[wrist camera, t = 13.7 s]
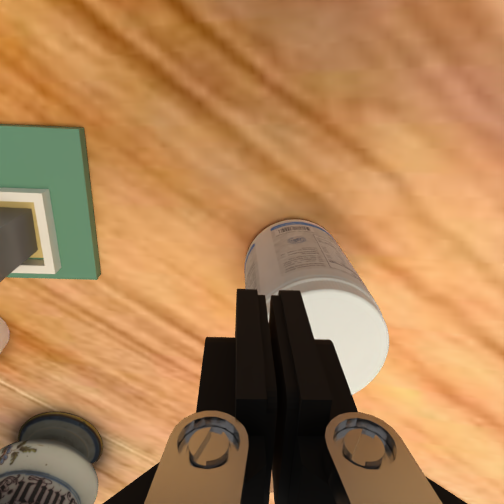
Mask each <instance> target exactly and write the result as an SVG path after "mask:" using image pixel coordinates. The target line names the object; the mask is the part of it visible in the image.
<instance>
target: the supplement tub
mask: <svg viewBox="0 0 504 504" xmlns="http://www.w3.org/2000/svg"><path fill="white" fill-rule="evenodd" d="M245 287H246V289H257V292H258V295H265V297H266V306H267V314H268V322H269V313H270V299H271V295H278V292H279V290H299V291H300V292H301V295H302V299H303V302H304V306H305V309H306V312H307V316H308V319H309V323H310V326H311V329H312V333H313V336H314V339H329V340H331V341H332V342H333V344H334V347H335V350H336V353H337V355H338V358H339V361H340V364H341V367H342V369H343V372H344V375H345V378H346V380H347V383H348V386H349V389H350V392H351V394H352V395H353V394H355V393H356V392H358V391H360V390H361V389H362V388H364V387H365V386H366V385H367V384H369V383H370V382H371V381H372V380H373V379H374V378H375V376H376V375H377V374H378V372H379V371H380V369H381V368H382V366H383V364H384V362H385V359H386V356H387V353H388V348H389V334H388V329H387V326H386V323H385V321H384V319H383V317H382V314H381V311H380V309H379V307H378V305H377V304H376V302H375V300H374V299H373V297H372V296H371V294H370V292H369V291H368V289H367V288H366V286H365V285H364V283H363V282H362V280H361V279H360V277H359V276H358V274H357V273H356V271H355V270H354V268H353V266H352V265H351V263H350V262H349V260H348V259H347V257H346V256H345V254H344V253H343V251H342V250H341V248H340V247H339V245H338V244H337V242H336V241H335V239H334V238H333V237H332V235H331V234H330V233H329V232H328V231H327V230H325V229H324V228H323V227H321V226H319V225H317V224H315V223H312V222H310V221H306V220H299V219H292V220H285V221H281V222H278V223H275V224H273V225H271V226H269V227H267V228H266V229H264V230H263V231H262V232H261V233H260V234H259V235H258V236H257V237H256V238H255V239H254V240H253V242H252V243H251V245H250V247H249V250H248V252H247V255H246V259H245Z"/></svg>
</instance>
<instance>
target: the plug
mask: <svg viewBox="0 0 504 504" xmlns="http://www.w3.org/2000/svg"><path fill="white" fill-rule="evenodd" d="M37 250H38V247H37V241H36V234H35V228H34V221H33V215H32V209H28V208H10V207H0V282H1V281H2V280H3V279H4V278H5V277H7V276H8V275H9V274H10V273H11V272H13V271H14V270H15V269H16V268H17V267H18V266H20V265H21V264H22V263H23V262H24V261H26V260H27V259H28V258H29V257H30V256H31V255H33V254H34V253H35V252H36V251H37Z"/></svg>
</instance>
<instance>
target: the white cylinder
mask: <svg viewBox="0 0 504 504" xmlns="http://www.w3.org/2000/svg"><path fill="white" fill-rule="evenodd" d="M9 336H10V331H9V329H8V327H7V324H6V322H5V321H4V320H3V319H2V318H1V317H0V353H1V352H2V350H3V349H4V347H5V346H6V344H7V343H8V341H9Z"/></svg>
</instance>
